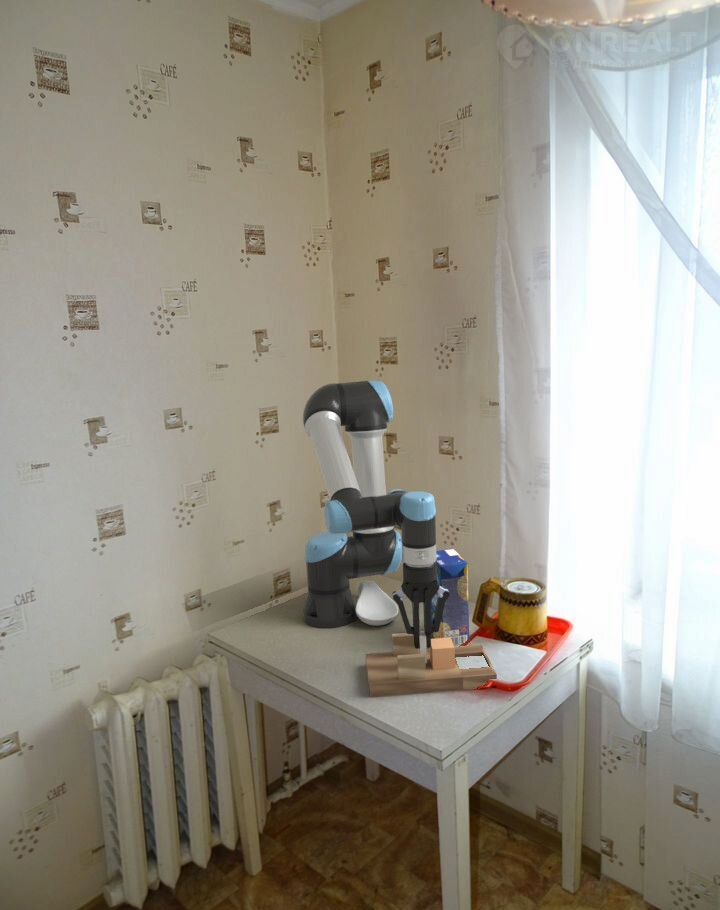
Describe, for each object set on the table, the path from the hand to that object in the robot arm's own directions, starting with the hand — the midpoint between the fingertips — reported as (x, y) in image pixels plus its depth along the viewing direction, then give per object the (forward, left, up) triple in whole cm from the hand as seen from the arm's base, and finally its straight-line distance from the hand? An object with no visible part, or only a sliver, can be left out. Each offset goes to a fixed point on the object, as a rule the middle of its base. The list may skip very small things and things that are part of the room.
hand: (422, 660), depth 154 cm
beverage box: (-17, +9, -4) cm, 20 cm away
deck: (0, +1, -4) cm, 4 cm away
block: (0, +4, -1) cm, 5 cm away
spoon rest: (-37, -9, -5) cm, 38 cm away
